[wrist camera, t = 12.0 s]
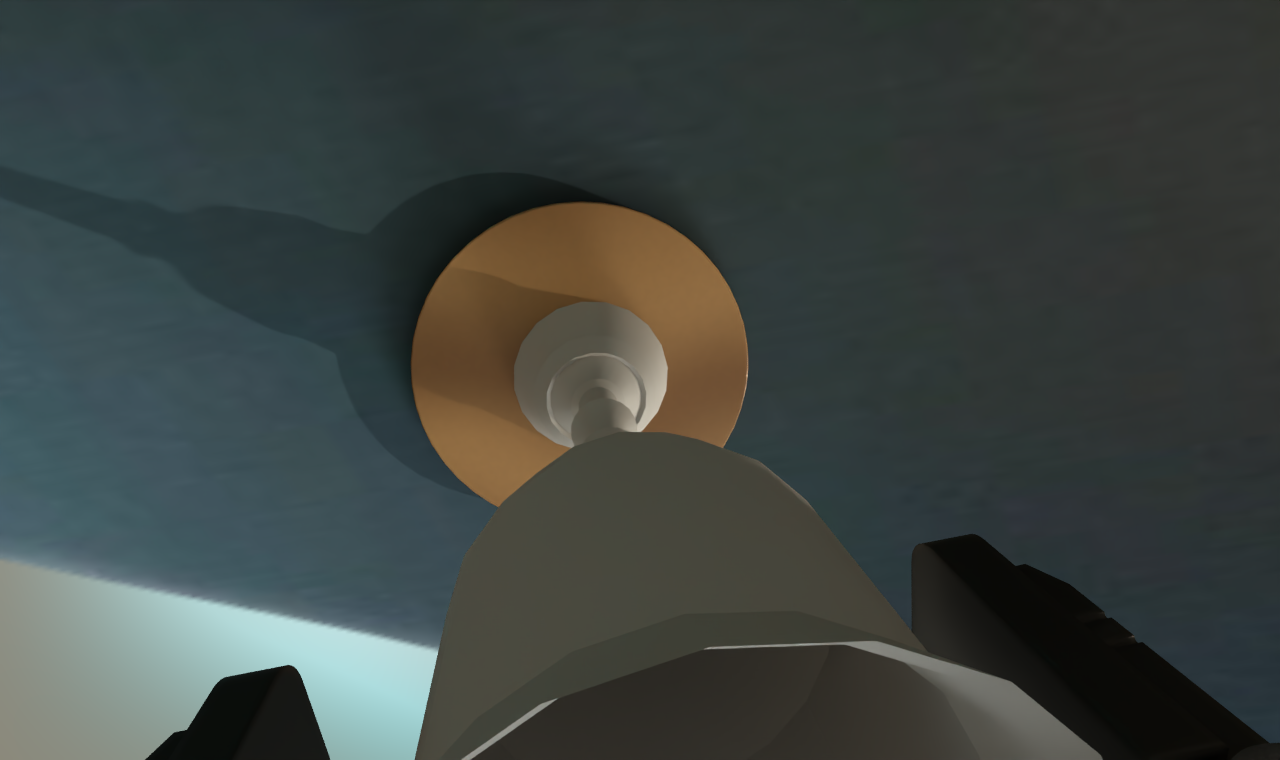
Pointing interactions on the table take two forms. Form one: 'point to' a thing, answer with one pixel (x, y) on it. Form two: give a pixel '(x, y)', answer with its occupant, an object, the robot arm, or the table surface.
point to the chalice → (684, 602)
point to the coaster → (531, 290)
